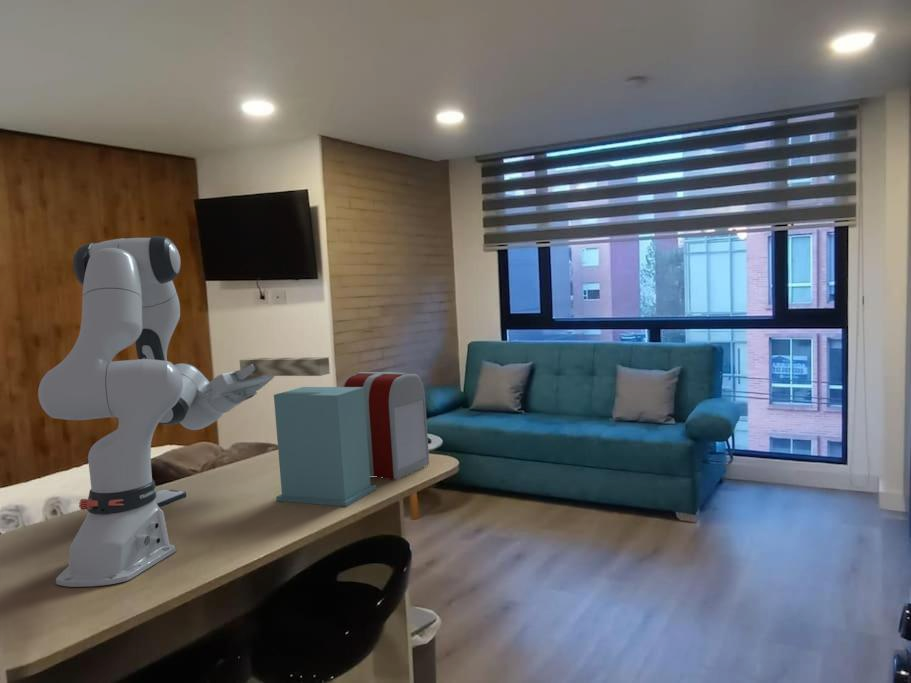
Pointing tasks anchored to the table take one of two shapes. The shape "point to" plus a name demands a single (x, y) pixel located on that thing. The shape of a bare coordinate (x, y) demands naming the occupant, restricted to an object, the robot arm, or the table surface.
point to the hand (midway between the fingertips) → (261, 365)
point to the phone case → (168, 496)
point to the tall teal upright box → (322, 445)
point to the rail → (288, 366)
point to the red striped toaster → (394, 422)
